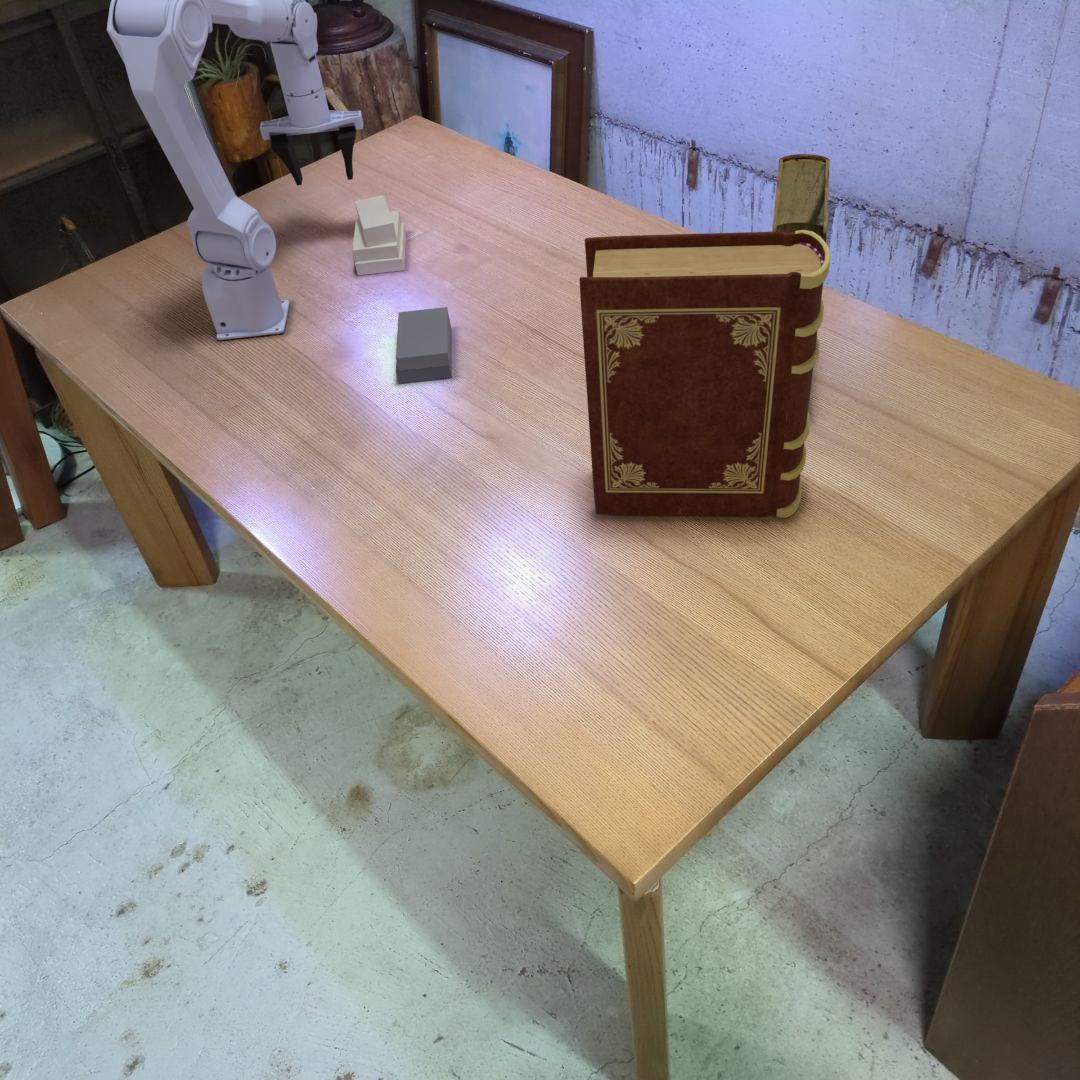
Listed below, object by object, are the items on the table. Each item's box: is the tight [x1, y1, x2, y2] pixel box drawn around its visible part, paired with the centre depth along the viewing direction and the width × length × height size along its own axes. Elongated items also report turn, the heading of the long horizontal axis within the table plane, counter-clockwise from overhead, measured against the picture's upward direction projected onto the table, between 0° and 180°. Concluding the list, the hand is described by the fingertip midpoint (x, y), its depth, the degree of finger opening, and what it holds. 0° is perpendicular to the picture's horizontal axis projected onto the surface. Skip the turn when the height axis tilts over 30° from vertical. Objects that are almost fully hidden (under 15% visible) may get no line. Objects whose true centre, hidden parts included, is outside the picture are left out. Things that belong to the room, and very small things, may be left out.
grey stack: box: [395, 306, 453, 385], centre depth 139 cm, size 7×11×4 cm, turn 4°
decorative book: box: [579, 230, 831, 519], centre depth 107 cm, size 22×8×30 cm, turn 84°
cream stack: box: [351, 209, 407, 276], centre depth 159 cm, size 7×11×4 cm, turn 4°
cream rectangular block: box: [354, 194, 397, 247], centre depth 157 cm, size 4×9×3 cm, turn 15°
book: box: [771, 153, 830, 244], centre depth 122 cm, size 16×6×25 cm, turn 168°
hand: (325, 179), depth 158 cm, fingers open, 7 cm apart
